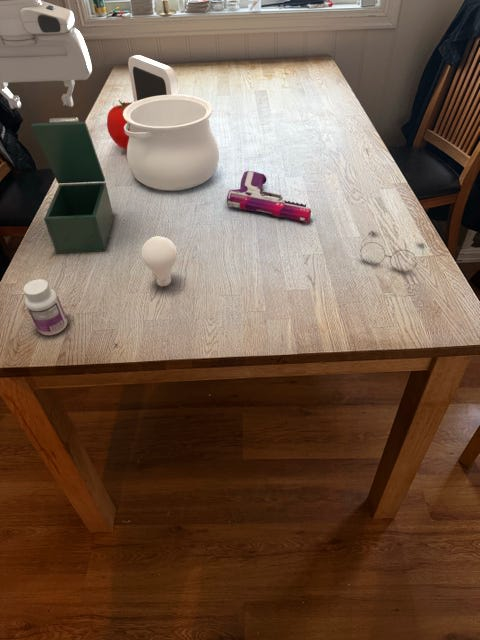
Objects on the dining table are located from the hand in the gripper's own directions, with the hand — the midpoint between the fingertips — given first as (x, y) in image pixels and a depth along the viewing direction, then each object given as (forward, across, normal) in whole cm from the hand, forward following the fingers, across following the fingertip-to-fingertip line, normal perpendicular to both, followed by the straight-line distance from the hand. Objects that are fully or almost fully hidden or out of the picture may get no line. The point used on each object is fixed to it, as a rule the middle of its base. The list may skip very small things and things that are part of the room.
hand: (42, 106), depth 82 cm
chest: (+29, 0, +2) cm, 29 cm away
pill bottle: (+29, -1, -28) cm, 40 cm away
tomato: (+29, +7, +47) cm, 56 cm away
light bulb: (+29, +19, -18) cm, 39 cm away
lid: (+12, 0, +7) cm, 14 cm away
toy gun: (+26, +49, +18) cm, 58 cm away
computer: (+18, +14, +51) cm, 56 cm away
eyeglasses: (+29, +68, -12) cm, 75 cm away
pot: (+29, +21, +29) cm, 46 cm away
